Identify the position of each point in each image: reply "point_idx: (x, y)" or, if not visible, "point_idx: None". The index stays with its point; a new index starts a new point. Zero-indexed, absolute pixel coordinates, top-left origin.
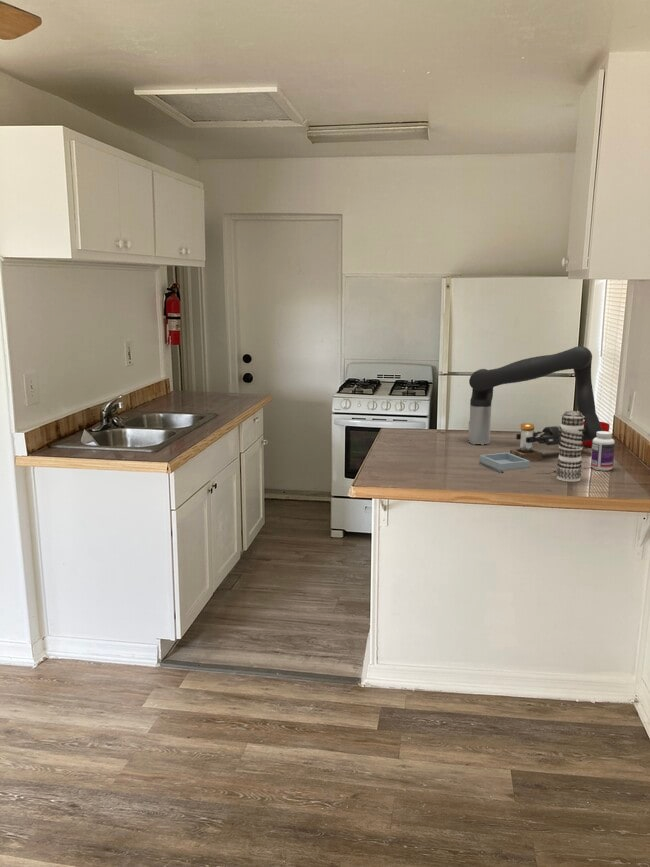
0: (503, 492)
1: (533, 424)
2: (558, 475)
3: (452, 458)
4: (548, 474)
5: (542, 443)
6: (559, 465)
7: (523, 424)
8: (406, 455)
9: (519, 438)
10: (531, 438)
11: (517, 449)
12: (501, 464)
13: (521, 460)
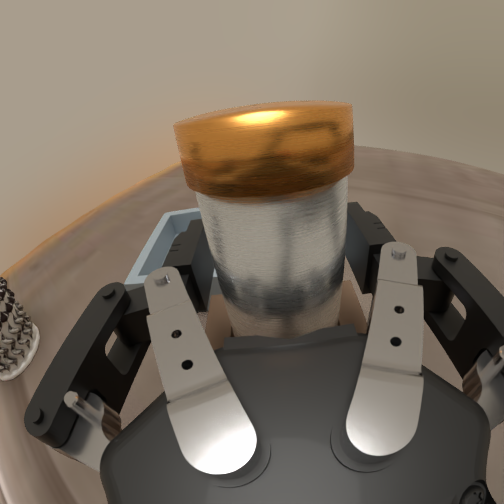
0: (89, 216)
1: (234, 118)
2: (25, 314)
3: (368, 197)
4: (66, 334)
5: (119, 350)
6: (7, 289)
7: (284, 102)
8: (391, 164)
9: (345, 247)
10: (175, 246)
11: (353, 317)
12: (164, 215)
13: None
